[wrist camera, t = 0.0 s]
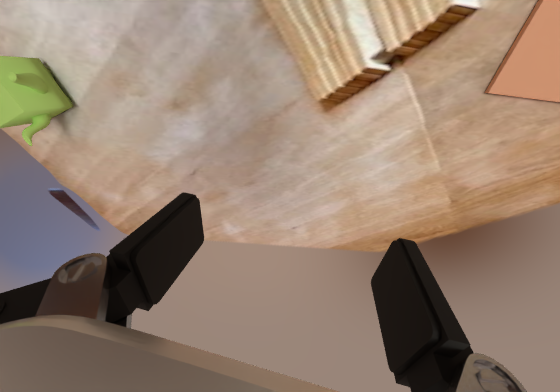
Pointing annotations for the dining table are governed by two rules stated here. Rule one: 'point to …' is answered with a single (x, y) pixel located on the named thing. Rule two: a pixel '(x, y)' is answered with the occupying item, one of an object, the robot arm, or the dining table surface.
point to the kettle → (29, 95)
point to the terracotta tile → (533, 58)
